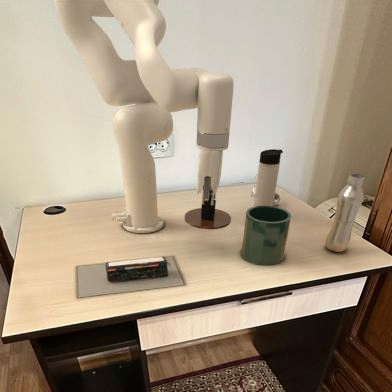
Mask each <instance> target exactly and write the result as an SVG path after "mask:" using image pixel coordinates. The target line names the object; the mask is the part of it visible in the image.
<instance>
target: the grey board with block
mask: <svg viewBox="0 0 392 392" xmlns="http://www.w3.org/2000/svg"><path fill="white" fill-rule="evenodd" d="M184 285H185V284H184V282H183V279H182V277H181V275H180V272H179V270H178V267H177V265H176V263H175V260H174V258H173V256H169V257H166V256H156V257H154V256H153V257H144V258H136V259H126V260H115V261H108V262H105V263H101V264H91V265H83V266H82V265H81V266H77V289H78V290H77V292H78V293H77V294H78V298H86V297H93V296H101V295H102V296H103V295H112V294H119V293H128V292H135V291H136V292H137V291H145V290H151V289H161V288H162V289H163V288H168V287H169V288H170V287H178V286H184Z"/></svg>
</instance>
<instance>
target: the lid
mask: <svg viewBox="0 0 392 392" xmlns="http://www.w3.org/2000/svg"><path fill="white" fill-rule="evenodd" d="M214 200H215V199H213V205H214ZM183 219H184V222H185V223H186V224H187V225H189V226H191V227H194V228H196V229H201V230H210V231H211V230H220V229H224V228H226V227H228V226H230V224H231V223H232V216H231V215H230V214H229V213H228V212H226V211H224V210H221V209H217V208H215V215H213V220H212V221H211V220H202V219H201V207H198V208H194V209H191V210H188V211H187V212H185V213H184V218H183Z"/></svg>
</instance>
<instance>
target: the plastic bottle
mask: <svg viewBox="0 0 392 392" xmlns="http://www.w3.org/2000/svg"><path fill="white" fill-rule="evenodd" d="M364 180H365V175H363V174H362V173H350V174H349V177H348V180H347V181H346V183H347V185H345V186H344V188H342V190H340V192H339V193H338V195H337V200H336V207H335V213H334V217H333V222H332V224H331V227H330V229H329V232H328V233H327V236H326V239H325V246H326V248H327V250H330V251H331V252H336V253H341V252H345V251H346V250H347V249H348V247H349V245H350V243H351V237H352V236H351V235H352V230H353V226H354V223H355V220H356V217H357V214H358V213H359V211H360V208H361V207H362V204H363V201H364V198H365V197H364V191H363V188H362V186H363V184H364Z"/></svg>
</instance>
